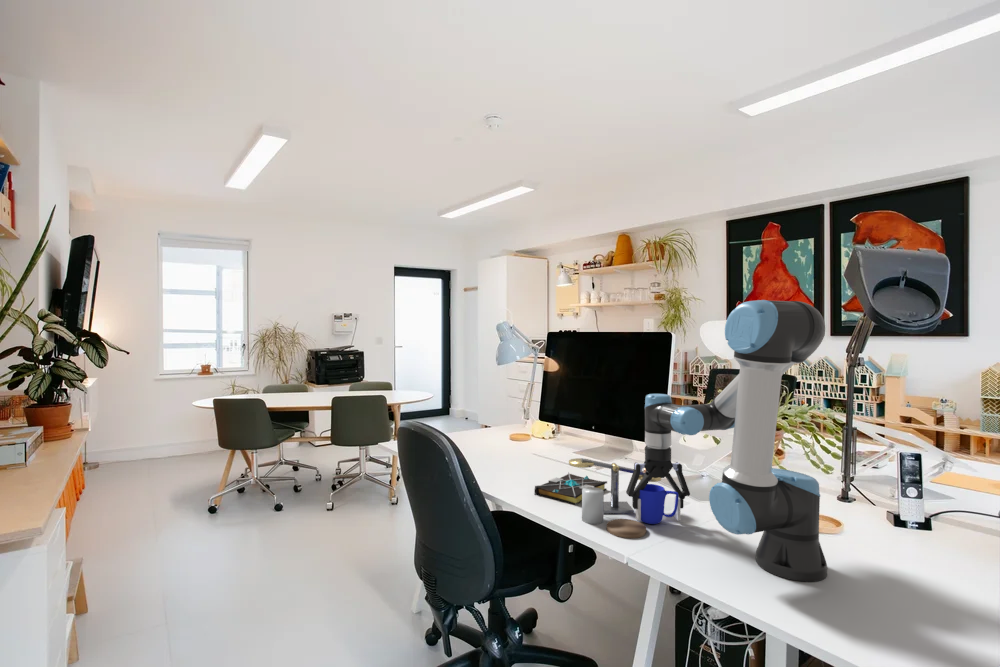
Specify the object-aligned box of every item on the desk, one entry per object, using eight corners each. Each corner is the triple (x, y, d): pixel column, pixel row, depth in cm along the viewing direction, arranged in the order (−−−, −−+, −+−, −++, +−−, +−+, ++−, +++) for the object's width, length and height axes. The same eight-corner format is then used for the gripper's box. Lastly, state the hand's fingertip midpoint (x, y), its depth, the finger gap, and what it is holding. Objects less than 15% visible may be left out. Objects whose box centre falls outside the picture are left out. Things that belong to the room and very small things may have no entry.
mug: (680, 528, 148) (680, 493, 148) (637, 525, 150) (637, 491, 150) (676, 518, 156) (676, 485, 156) (635, 515, 158) (635, 482, 158)
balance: (664, 513, 161) (665, 461, 160) (570, 514, 160) (571, 462, 160) (656, 504, 169) (656, 455, 168) (566, 505, 168) (566, 455, 167)
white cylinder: (605, 524, 152) (605, 493, 152) (584, 524, 152) (584, 494, 151) (600, 516, 158) (601, 487, 158) (580, 516, 158) (580, 487, 158)
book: (567, 481, 195) (568, 468, 195) (607, 490, 184) (607, 477, 184) (533, 495, 178) (533, 481, 178) (575, 507, 167) (575, 492, 167)
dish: (651, 538, 142) (651, 533, 142) (611, 538, 142) (612, 534, 142) (639, 522, 153) (639, 518, 153) (602, 523, 153) (602, 519, 152)
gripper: (691, 443, 157) (691, 514, 157) (615, 443, 156) (615, 515, 157) (702, 448, 150) (702, 523, 150) (622, 449, 149) (622, 524, 149)
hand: (657, 519), depth 153 cm, fingers closed on mug, 11 cm apart
